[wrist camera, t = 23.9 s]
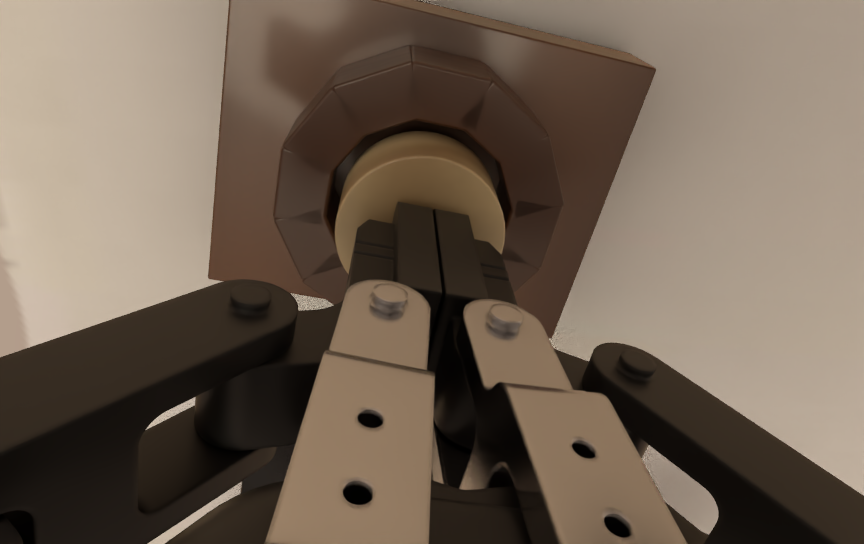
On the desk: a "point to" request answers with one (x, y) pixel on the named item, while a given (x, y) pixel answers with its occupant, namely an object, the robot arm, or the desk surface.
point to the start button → (417, 187)
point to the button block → (404, 112)
